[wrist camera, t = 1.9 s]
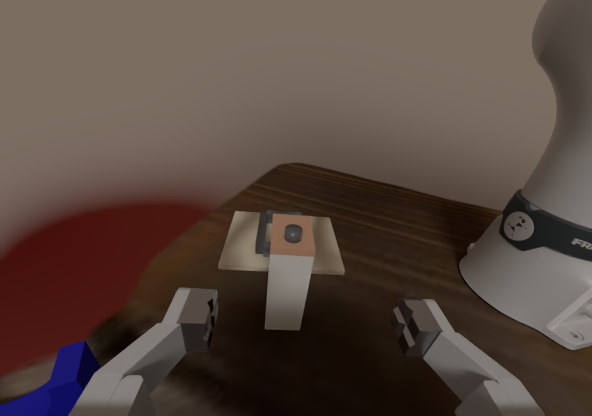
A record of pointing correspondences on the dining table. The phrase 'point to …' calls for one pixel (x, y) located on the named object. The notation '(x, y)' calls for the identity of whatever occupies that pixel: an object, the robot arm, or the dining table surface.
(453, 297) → the dining table surface
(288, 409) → the dining table surface
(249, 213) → the board
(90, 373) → the cable clip
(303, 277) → the white and orange block
